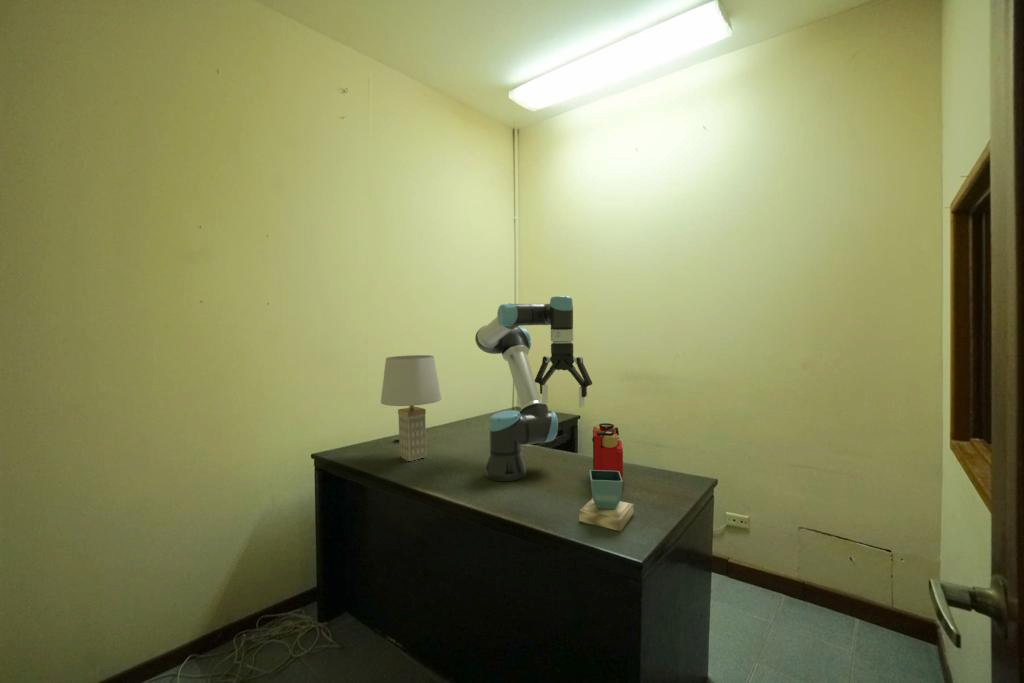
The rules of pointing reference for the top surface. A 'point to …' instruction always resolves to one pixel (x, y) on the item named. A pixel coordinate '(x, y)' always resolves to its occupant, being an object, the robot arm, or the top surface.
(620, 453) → the red mechanical box
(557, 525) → the top surface
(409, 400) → the lamp
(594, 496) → the flower pot
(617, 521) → the oak stand
